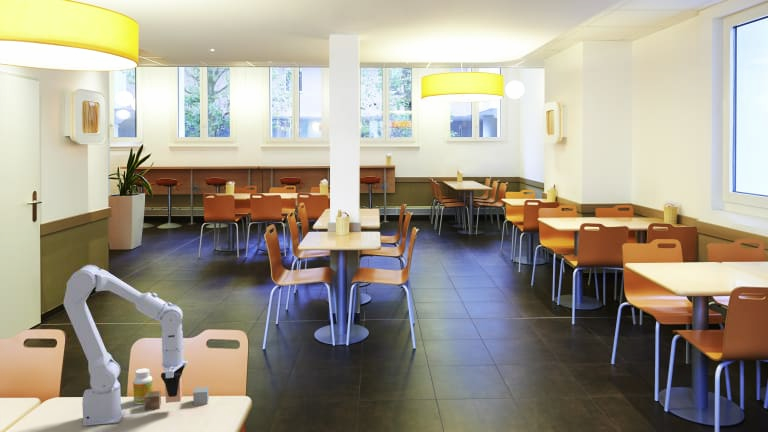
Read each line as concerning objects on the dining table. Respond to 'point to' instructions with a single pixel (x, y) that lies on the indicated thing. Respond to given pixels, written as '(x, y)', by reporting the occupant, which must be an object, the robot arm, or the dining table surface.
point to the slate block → (200, 396)
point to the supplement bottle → (142, 385)
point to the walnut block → (152, 400)
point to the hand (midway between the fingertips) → (173, 393)
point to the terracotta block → (179, 393)
